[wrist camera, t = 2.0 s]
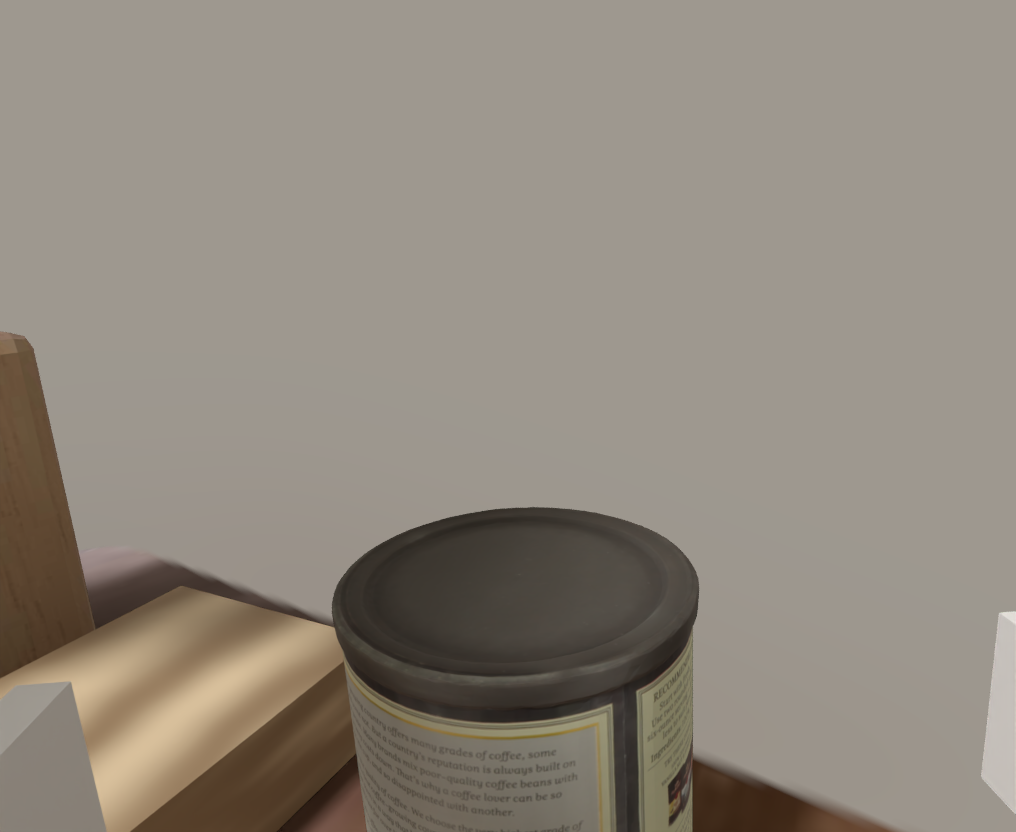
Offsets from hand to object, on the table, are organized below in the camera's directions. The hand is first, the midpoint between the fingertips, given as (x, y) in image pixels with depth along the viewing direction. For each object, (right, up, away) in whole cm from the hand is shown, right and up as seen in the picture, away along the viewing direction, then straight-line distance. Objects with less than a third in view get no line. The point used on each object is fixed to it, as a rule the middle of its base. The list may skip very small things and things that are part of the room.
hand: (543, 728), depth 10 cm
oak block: (-16, -12, +23) cm, 30 cm away
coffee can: (0, -14, +14) cm, 20 cm away
